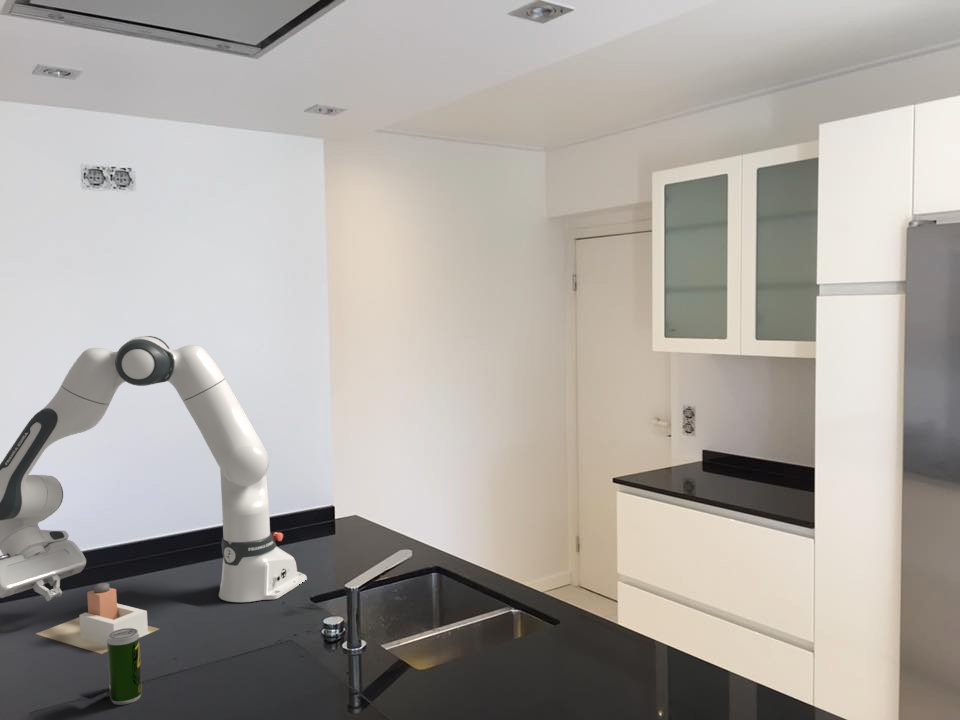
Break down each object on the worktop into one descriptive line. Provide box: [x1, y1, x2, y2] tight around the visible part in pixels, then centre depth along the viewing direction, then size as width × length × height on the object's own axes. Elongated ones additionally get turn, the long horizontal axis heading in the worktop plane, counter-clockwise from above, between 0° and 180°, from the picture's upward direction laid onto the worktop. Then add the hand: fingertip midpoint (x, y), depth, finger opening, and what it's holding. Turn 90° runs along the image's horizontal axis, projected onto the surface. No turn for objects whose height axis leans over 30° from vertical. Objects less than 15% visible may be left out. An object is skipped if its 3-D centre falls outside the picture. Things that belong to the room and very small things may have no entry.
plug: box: [86, 582, 118, 620], centre depth 172 cm, size 4×4×10 cm
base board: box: [35, 616, 160, 655], centre depth 174 cm, size 14×22×2 cm, turn 61°
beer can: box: [107, 628, 143, 706], centre depth 146 cm, size 5×5×12 cm
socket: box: [79, 602, 149, 646], centre depth 171 cm, size 8×11×5 cm
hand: (55, 597), depth 181 cm, fingers closed
